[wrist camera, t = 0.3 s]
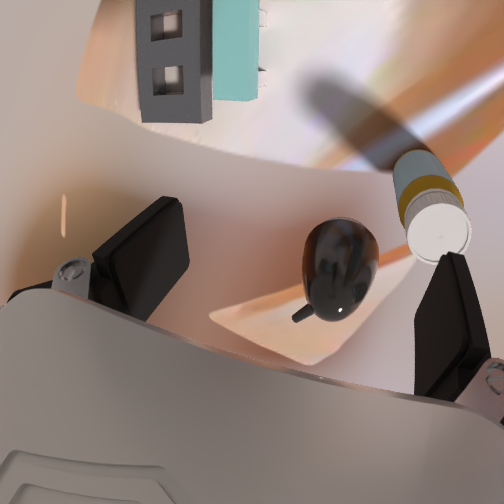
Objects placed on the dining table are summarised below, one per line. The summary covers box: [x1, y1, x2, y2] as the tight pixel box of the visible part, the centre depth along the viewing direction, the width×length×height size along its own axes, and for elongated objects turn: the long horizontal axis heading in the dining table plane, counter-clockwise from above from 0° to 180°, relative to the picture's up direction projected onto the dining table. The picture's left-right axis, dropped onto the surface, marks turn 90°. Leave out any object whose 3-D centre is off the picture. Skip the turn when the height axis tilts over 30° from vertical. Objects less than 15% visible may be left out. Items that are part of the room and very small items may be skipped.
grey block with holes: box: [136, 0, 212, 124], centre depth 33 cm, size 20×10×3 cm, turn 178°
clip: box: [213, 0, 267, 101], centre depth 29 cm, size 12×4×8 cm, turn 178°
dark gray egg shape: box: [292, 217, 379, 323], centre depth 37 cm, size 10×10×15 cm
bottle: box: [393, 149, 472, 265], centre depth 28 cm, size 7×7×15 cm
